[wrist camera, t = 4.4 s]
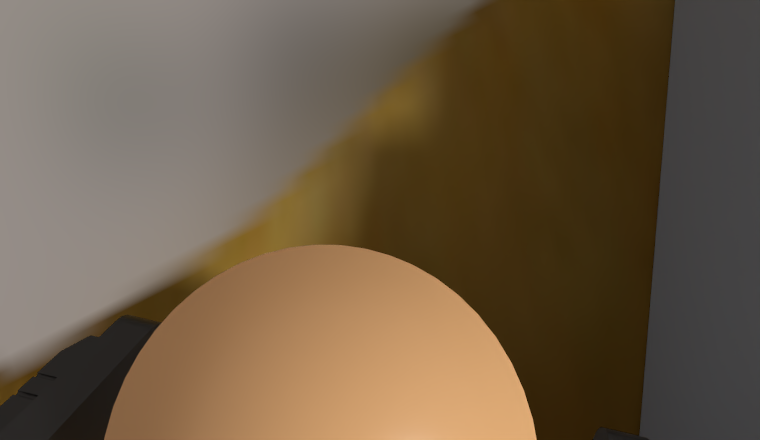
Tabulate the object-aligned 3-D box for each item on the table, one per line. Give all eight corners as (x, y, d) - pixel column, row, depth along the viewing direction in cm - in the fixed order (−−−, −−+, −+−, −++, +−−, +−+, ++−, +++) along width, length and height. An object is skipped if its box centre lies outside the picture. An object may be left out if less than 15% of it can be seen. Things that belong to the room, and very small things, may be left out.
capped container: (479, 350, 16) (566, 289, 6) (449, 530, 14) (500, 810, 5) (322, 315, 16) (180, 211, 7) (279, 484, 15) (28, 648, 5)
